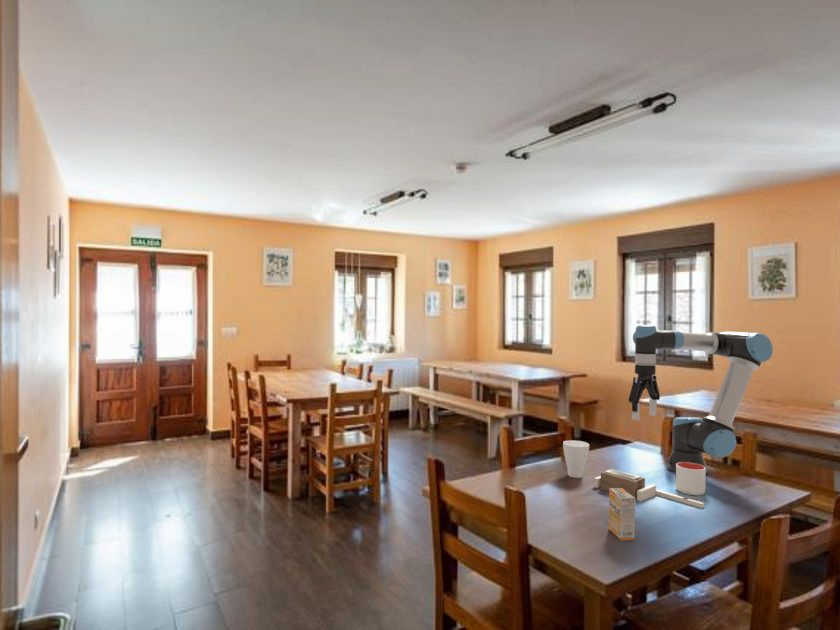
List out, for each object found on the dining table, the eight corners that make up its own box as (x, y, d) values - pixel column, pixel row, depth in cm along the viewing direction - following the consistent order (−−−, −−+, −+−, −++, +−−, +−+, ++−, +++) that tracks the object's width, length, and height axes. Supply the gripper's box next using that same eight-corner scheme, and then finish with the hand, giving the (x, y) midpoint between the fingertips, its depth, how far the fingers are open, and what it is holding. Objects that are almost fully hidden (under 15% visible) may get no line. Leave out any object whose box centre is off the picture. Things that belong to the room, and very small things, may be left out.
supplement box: (607, 529, 162) (608, 487, 162) (622, 528, 162) (622, 487, 162) (619, 541, 154) (620, 497, 153) (635, 540, 154) (636, 497, 154)
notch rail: (610, 480, 209) (610, 471, 209) (703, 507, 181) (704, 497, 181) (593, 486, 201) (593, 477, 201) (688, 515, 173) (688, 505, 173)
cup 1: (591, 474, 216) (592, 442, 216) (585, 481, 207) (585, 448, 207) (566, 470, 222) (567, 439, 222) (559, 476, 213) (559, 444, 213)
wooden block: (610, 485, 204) (610, 467, 204) (644, 495, 193) (644, 476, 193) (600, 489, 199) (600, 470, 199) (635, 499, 188) (635, 480, 188)
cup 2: (709, 497, 191) (709, 470, 191) (680, 495, 193) (680, 468, 193) (700, 488, 201) (700, 463, 201) (672, 486, 203) (672, 461, 203)
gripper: (651, 361, 214) (650, 412, 215) (619, 365, 199) (618, 420, 199) (669, 363, 209) (668, 415, 209) (638, 367, 193) (637, 423, 193)
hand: (644, 417), depth 204 cm, fingers open, 13 cm apart
